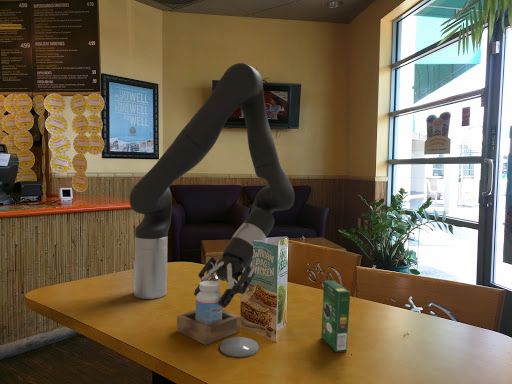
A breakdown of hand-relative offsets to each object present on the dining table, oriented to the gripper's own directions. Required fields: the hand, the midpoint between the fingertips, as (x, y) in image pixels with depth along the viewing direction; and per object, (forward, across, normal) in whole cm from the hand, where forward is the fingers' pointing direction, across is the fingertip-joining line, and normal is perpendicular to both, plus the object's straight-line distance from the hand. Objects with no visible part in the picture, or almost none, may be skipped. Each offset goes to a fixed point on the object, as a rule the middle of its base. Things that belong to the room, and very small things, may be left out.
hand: (208, 301), depth 88 cm
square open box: (+5, 0, +5) cm, 7 cm away
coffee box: (-6, +24, +16) cm, 29 cm away
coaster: (+6, +11, +4) cm, 13 cm away
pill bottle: (+5, 0, +5) cm, 7 cm away
